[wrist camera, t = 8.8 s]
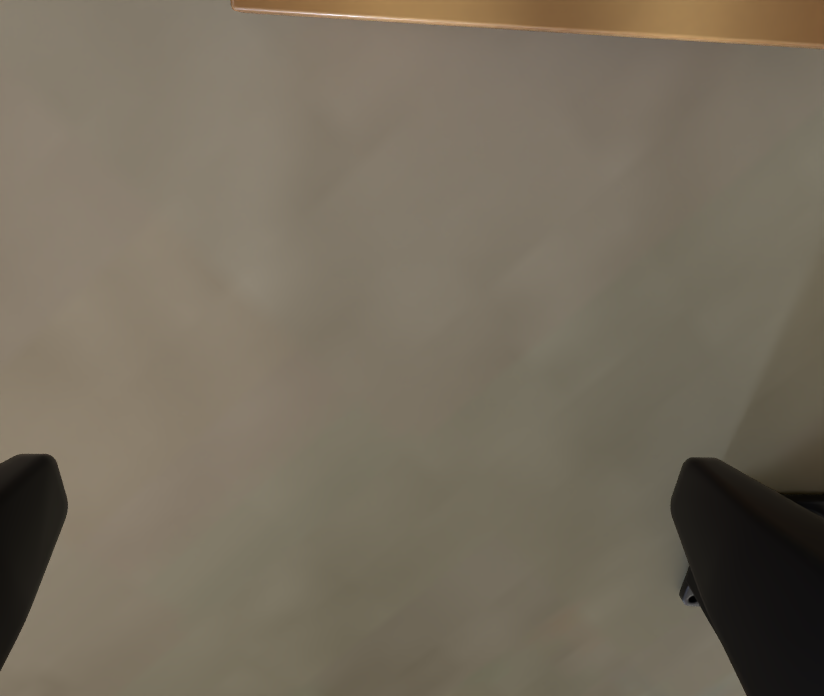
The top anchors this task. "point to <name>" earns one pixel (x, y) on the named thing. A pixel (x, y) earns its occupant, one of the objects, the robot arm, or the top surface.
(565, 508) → the top surface
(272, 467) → the top surface
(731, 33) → the shelf
